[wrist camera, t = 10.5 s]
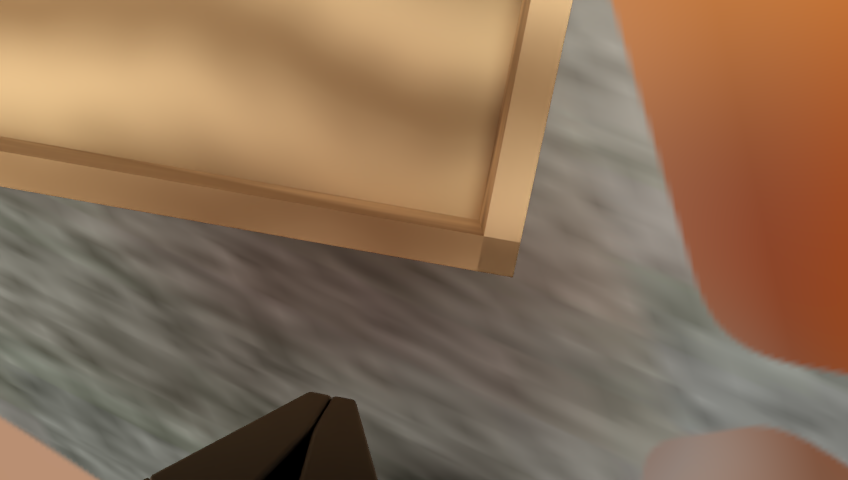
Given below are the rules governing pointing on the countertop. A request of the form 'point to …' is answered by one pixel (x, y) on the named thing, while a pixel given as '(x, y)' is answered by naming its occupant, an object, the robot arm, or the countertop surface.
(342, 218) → the open box
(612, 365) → the countertop surface
